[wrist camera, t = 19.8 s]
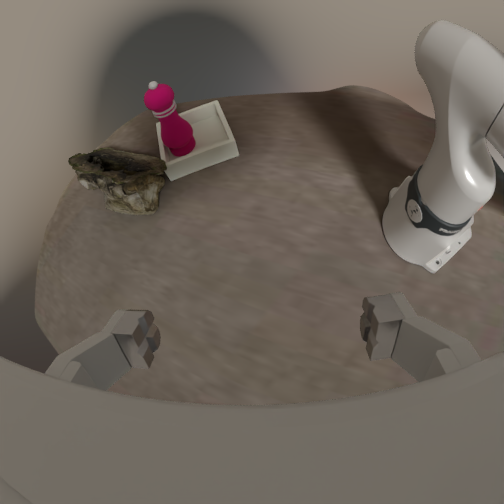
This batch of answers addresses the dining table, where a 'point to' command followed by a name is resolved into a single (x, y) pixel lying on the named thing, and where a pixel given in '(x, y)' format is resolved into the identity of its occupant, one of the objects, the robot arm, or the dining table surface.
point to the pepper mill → (169, 119)
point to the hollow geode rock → (122, 179)
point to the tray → (201, 141)
